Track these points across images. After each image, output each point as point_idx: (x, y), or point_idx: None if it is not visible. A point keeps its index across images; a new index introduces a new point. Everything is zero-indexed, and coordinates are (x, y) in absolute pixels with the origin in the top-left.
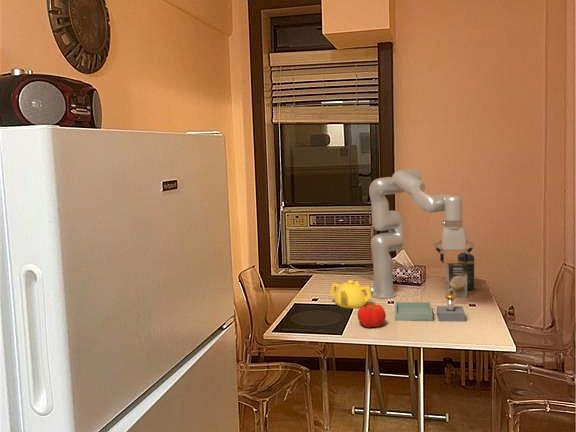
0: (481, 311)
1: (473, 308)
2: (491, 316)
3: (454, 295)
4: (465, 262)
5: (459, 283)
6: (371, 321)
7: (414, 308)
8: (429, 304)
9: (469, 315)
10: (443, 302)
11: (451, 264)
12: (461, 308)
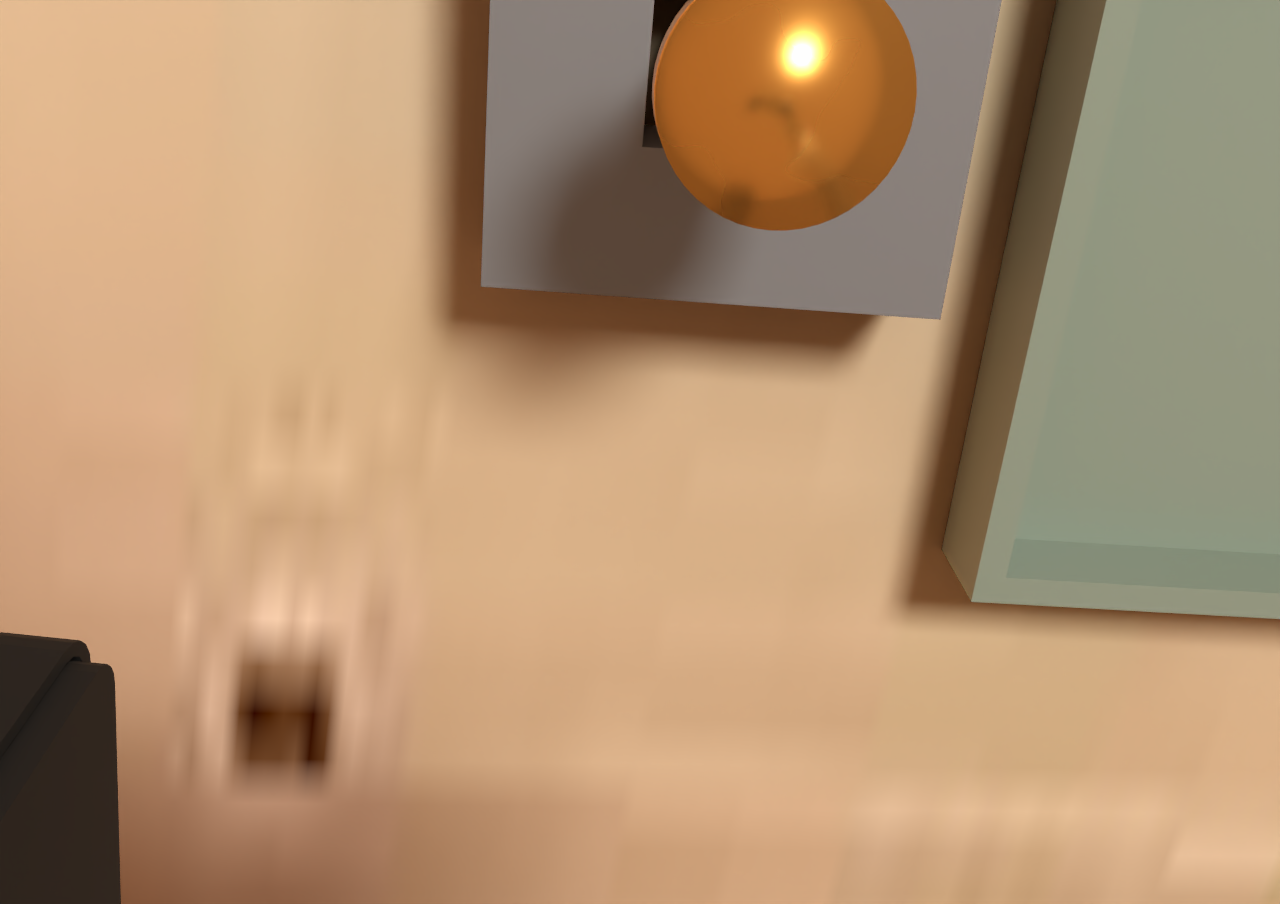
0: (163, 400)
1: (278, 559)
2: (6, 102)
3: (697, 34)
4: (50, 647)
5: None
6: None
7: (1204, 516)
8: (1016, 490)
9: (382, 175)
10: (679, 842)
11: None
12: (515, 151)
